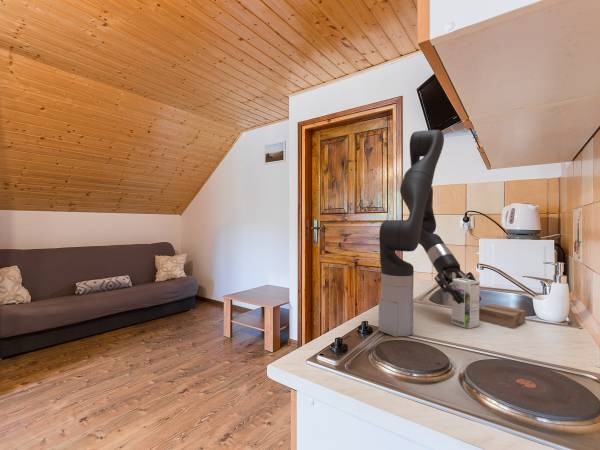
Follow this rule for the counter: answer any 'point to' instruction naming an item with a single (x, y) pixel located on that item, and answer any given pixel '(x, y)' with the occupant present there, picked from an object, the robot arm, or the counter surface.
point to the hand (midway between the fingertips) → (469, 301)
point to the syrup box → (466, 303)
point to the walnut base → (502, 315)
